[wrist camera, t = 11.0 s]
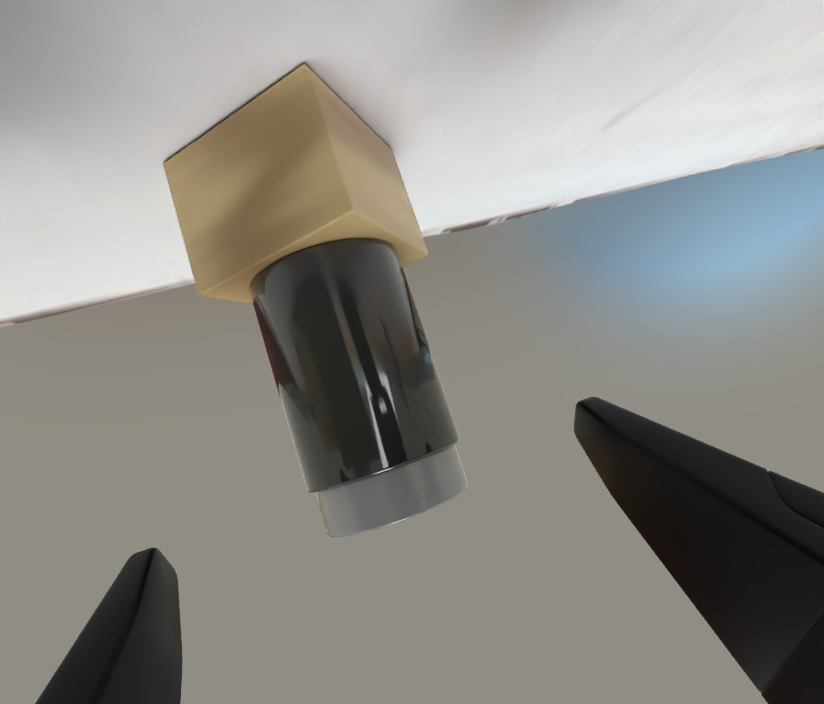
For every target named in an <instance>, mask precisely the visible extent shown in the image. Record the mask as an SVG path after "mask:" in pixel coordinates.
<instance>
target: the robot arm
mask: <svg viewBox="0 0 824 704" xmlns="http://www.w3.org/2000/svg"><path fill="white" fill-rule="evenodd" d="M574 431H575V435H576V437H577V439H578V441H579V442H580V444H581V446H582V447H583V449H584V450H585V452H586V454H587V456H588V457H589V459H590V461H591V462H592V464H593V466H594V467H595V469H596V471H597V472H598V474H599V476H600V477H601V479H602V481H603V482H604V484H605V486H606V487H607V489H608V490H609V492H610V494H611V495H612V497H613V498H614V499H615V500H616V502H617V503H618V505H619V506H620V507H621V509H622V510H623V511H624V513H625V514H626V515H627V517H628V518H629V519H630V521H631V522H632V523H633V525H634V526H635V527H636V529H637V530H638V531H639V533H640V534H641V535H642V537H643V538H644V539H645V540H646V542H647V543H648V544H649V546H650V547H651V549H652V550H653V551H654V553H655V554H656V555H657V557H658V558H659V559H660V560H661V562H662V563H663V564H664V566H665V567H666V568H667V570H668V571H669V572H670V574H671V575H672V576H673V578H674V579H675V580H676V581H677V583H678V584H679V586H680V587H681V588H682V590H683V591H684V592H685V594H686V595H687V596H688V597H689V599H690V600H691V602H692V603H693V604H694V605H695V607H696V608H697V609H698V611H699V612H700V614H701V615H702V616H703V617H704V619H705V620H706V621H707V623H708V624H709V625H710V627H711V628H712V629H713V631H714V632H715V633H716V635H717V636H718V637H719V639H720V640H721V641H722V643H723V644H724V645H725V647H726V648H727V649H728V651H729V652H730V653H731V655H732V656H733V657H734V658H735V660H736V661H737V662H738V664H739V665H740V667H741V668H742V669H743V670H744V672H745V673H746V674H747V676H748V677H749V678H750V680H751V681H752V682H753V684H754V685H755V686H756V688H757V689H758V690H759V691H760V692H761V694H762V696H763V697H764V699H765V700H766V701H767V703H768V704H824V493H823V492H820V491H818V490H816V489H813V488H811V487H808V486H806V485H803V484H800V483H798V482H796V481H793V480H791V479H788V478H786V477H784V476H781V475H779V474H777V473H774V472H772V471H767V470H766V469H765V468H762V467H760V466H758V465H755V464H753V463H751V462H748V461H746V460H744V459H741V458H739V457H736V456H734V455H732V454H729V453H727V452H724V451H722V450H720V449H718V448H715V447H713V446H711V445H708V444H706V443H703V442H701V441H699V440H696V439H694V438H692V437H689V436H687V435H685V434H682V433H680V432H677V431H675V430H673V429H670V428H668V427H665V426H663V425H661V424H659V423H656V422H654V421H652V420H649V419H647V418H645V417H642V416H640V415H638V414H635V413H633V412H631V411H628V410H626V409H623V408H621V407H619V406H616V405H614V404H612V403H609V402H607V401H605V400H602V399H600V398H597V397H590V398H587V399H584V400H581V401H579V402H578V403H577V404H576V409H575V420H574ZM181 679H182V642H181V626H180V610H179V593H178V579H177V575H176V572H175V570H174V568H173V567H172V565H171V564H170V563H169V562H168V561H167V559H166V558H165V557H164V556H163V555H162V553H161V552H160V551H159V550H158V549H157V548H150V549H146V550H144V551H141V552H138V553H135V554H133V555H132V556H131V557H130V558H129V559H128V561H127V562H126V564H125V565H124V567H123V568H122V570H121V572H120V573H119V575H118V577H117V578H116V579H115V581H114V582H113V584H112V586H111V587H110V589H109V590H108V592H107V593H106V595H105V596H104V598H103V600H102V601H101V603H100V604H99V606H98V607H97V609H96V610H95V612H94V613H93V615H92V616H91V618H90V620H89V621H88V623H87V624H86V626H85V627H84V629H83V631H82V632H81V634H80V635H79V637H78V638H77V640H76V641H75V643H74V644H73V646H72V647H71V649H70V651H69V652H68V654H67V655H66V657H65V658H64V660H63V661H62V663H61V665H60V666H59V668H58V669H57V671H56V672H55V674H54V676H53V677H52V679H51V680H50V682H49V683H48V685H47V686H46V688H45V690H44V691H43V692H42V694H41V696H40V697H39V699H38V700H37V702H36V703H35V704H180V699H181V681H182V680H181Z"/></svg>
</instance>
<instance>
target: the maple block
mask: <svg viewBox="0 0 824 704" xmlns="http://www.w3.org/2000/svg"><path fill="white" fill-rule="evenodd" d="M164 169H165V173H166V176H167V180H168V184H169V187H170V191H171V195H172V199H173V202H174V206H175V210H176V213H177V217H178V221H179V224H180V228H181V232H182V236H183V239H184V243H185V247H186V250H187V254H188V258H189V262H190V265H191V269H192V273H193V276H194V280H195V284H196V287H197V291H198V294H199V295H200V296H207V297H213V298H219V299H225V300H231V301H238V302H244V303H250V304H253V301H252V298H251V294H250V287H251V284H252V282H253V280H254V279H255V278H256V276H257V275H258V274H259V273H260V272H262V271H263V270H264V269H265V268H267V267H268V266H270V265H271V264H273V263H275V262H276V261H278V260H280V259H282V258H284V257H286V256H288V255H290V254H293V253H295V252H298V251H300V250H303V249H306V248H309V247H312V246H316V245H319V244H323V243H328V242H332V241H338V240H345V239H357V238H369V239H378V240H382V241H385V242H387V243H389V244H391V245H392V246H393V247H394V248H395V249H396V251H397V254H398V257H399V259H400V262H401V265H402V268H403V267H406V266H408V265H410V264H412V263H414V262H416V261H418V260H420V259H423V258H425V257H427V256H428V251H427V248H426V245H425V243H424V239H423V237H422V234H421V231H420V228H419V225H418V222H417V220H416V217H415V214H414V211H413V208H412V205H411V203H410V200H409V197H408V194H407V191H406V188H405V186H404V183H403V180H402V177H401V174H400V171H399V169H398V166H397V163H396V160H395V157H394V154H393V152H392V149H391V148H390V147H389V146H388V145H387V144H386V143H385V142H384V141H383V140H382V139H381V138H380V137H379V136H378V135H377V134H376V133H375V132H374V131H373V130H372V129H371V128H370V127H369V126H368V125H367V124H366V123H365V122H364V121H363V120H361V119H360V118H359V117H358V116H357V115H356V114H355V113H354V112H353V111H352V110H351V109H350V108H349V107H348V106H347V105H346V104H345V103H344V102H343V101H342V100H341V99H340V98H339V97H338V96H337V95H336V94H335V93H334V92H333V91H332V90H331V89H330V88H329V87H328V86H327V85H326V84H325V83H324V82H323V81H322V80H321V79H320V78H319V77H318V76H317V75H316V74H315V73H314V72H313V71H312V70H311V69H310V68H309V67H308V66H307V65H305V64H303V65H302V66H300V67H299V68H297V69H296V70H294V71H293V72H292V73H290V74H289V75H287V76H286V77H285V78H283V79H282V80H280V81H279V82H278V83H276V84H275V85H273V86H272V87H271V88H269V89H268V90H266V91H265V92H264V93H262V94H261V95H259V96H258V97H256V98H255V99H254V100H252V101H251V102H249V103H248V104H247V105H245V106H244V107H242V108H241V109H240V110H238V111H237V112H235V113H234V114H233V115H231V116H230V117H228V118H227V119H225V120H224V121H223V122H221V123H220V124H218V125H217V126H216V127H214V128H213V129H211V130H210V131H209V132H207V133H206V134H204V135H203V136H202V137H200V138H199V139H197V140H196V141H195V142H193V143H192V144H190V145H189V146H187V147H186V148H185V149H183V150H182V151H180V152H179V153H178V154H176V155H175V156H173V157H172V158H171V159H169V160H168V161H166V162H165V163H164Z"/></svg>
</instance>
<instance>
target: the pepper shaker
mask: <svg viewBox="0 0 824 704" xmlns="http://www.w3.org/2000/svg"><path fill="white" fill-rule="evenodd" d="M250 294H251V298H252V301H253V305H254V308H255V311H256V315H257V319H258V322H259V325H260V329H261V333H262V336H263V339H264V343H265V346H266V350H267V353H268V357H269V360H270V364H271V367H272V370H273V374H274V378H275V381H276V385H277V388H278V391H279V395H280V398H281V402H282V405H283V409H284V412H285V416H286V419H287V423H288V426H289V430H290V433H291V437H292V440H293V444H294V447H295V451H296V454H297V458H298V461H299V465H300V468H301V472H302V475H303V479H304V482H305V485H306V489H307V491H308V492H316V495H317V499H318V502H319V506H320V509H321V513H322V516H323V519H324V523H325V526H326V530H327V533H328V535H329V536H331V537H343V536H350V535H355V534H360V533H363V532H368V531H372V530H375V529H379V528H382V527H385V526H388V525H391V524H394V523H397V522H400V521H403V520H406V519H408V518H411V517H414V516H416V515H419V514H421V513H424V512H426V511H428V510H431V509H433V508H435V507H437V506H439V505H442V504H444V503H445V502H447V501H449V500H451V499H453V498H455V497H456V496H458V495H459V494H461V493H462V492H463V491H465V490H466V489H467V488H468V481H467V478H466V475H465V473H464V469H463V466H462V463H461V461H460V458H459V455H458V452H457V449H456V446H455V444H456V443H458V442H459V441H460V435H459V432H458V429H457V426H456V423H455V420H454V418H453V415H452V412H451V409H450V406H449V403H448V400H447V397H446V394H445V392H444V388H443V385H442V383H441V379H440V377H439V374H438V371H437V368H436V365H435V362H434V359H433V356H432V353H431V350H430V347H429V344H428V341H427V339H426V336H425V333H424V330H423V327H422V324H421V321H420V318H419V315H418V312H417V309H416V306H415V304H414V301H413V298H412V295H411V292H410V289H409V286H408V283H407V280H406V277H405V274H404V272H403V268H402V265H401V262H400V259H399V257H398V254H397V251H396V249H395V248H394V247H393V246H392V245H391V244H389V243H387V242H385V241H382V240H378V239H369V238H357V239H345V240H338V241H332V242H328V243H323V244H319V245H316V246H312V247H309V248H306V249H303V250H300V251H298V252H295V253H293V254H290V255H288V256H286V257H284V258H282V259H280V260H278V261H276V262H275V263H273V264H271V265H270V266H268V267H267V268H265V269H264V270H263V271H262V272H260V273H259V274H258V275H257V276H256V278H255V279H254V280H253V282H252V284H251V287H250Z"/></svg>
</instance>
